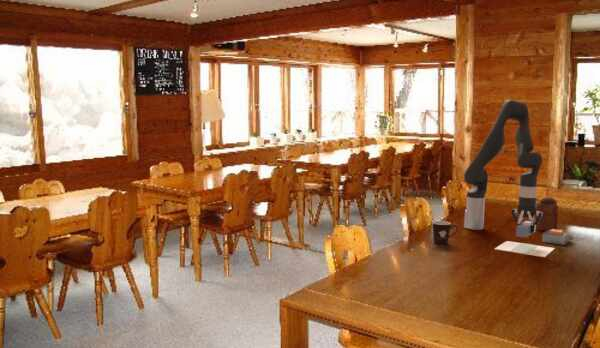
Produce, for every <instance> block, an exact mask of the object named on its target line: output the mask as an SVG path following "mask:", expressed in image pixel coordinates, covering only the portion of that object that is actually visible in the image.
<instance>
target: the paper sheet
mask: <svg viewBox="0 0 600 348" xmlns="http://www.w3.org/2000/svg"><path fill="white" fill-rule="evenodd" d="M555 249H556V248H555V247H551V246H550V247H549V246H543V245H538V244H532V243H523V242H515V241H510V240H506V241H504V242H503V243H501V244H500V245H498V246H497V247H495V248H494V250H497V251H503V252H509V253H514V254H521V255H529V256H532V257H533V256H534V257H541V258H546V257H548V255H550V254H551V253H552V252H553V251H554V250H555Z"/></svg>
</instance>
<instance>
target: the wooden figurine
mask: <svg viewBox="0 0 600 348" xmlns="http://www.w3.org/2000/svg"><path fill="white" fill-rule="evenodd" d="M557 203H558V202H557V200H556V199H555V198H553V197H551V196H550V197H549V196H545V197H542V198H541V199H539V200H537V201H536V209H537V211H539V212H543V215H542V217H541V220H540V222H539V224H537V225H536V230H537V231H544V232H546V231H547V230H551V229H556V230H558V223H559V222H558V220H559V219H558V218H559V217H558V215H559V206H558V204H557ZM537 217H538V216H537V213H535V214H534V221H535V222H536V220H537ZM536 230H535V231H536Z"/></svg>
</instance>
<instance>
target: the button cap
mask: <svg viewBox="0 0 600 348" xmlns="http://www.w3.org/2000/svg"><path fill="white" fill-rule="evenodd" d="M563 232H564V230H563V229H557V230H556V229H551V230H550V234H555V235H562V234H563Z"/></svg>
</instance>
